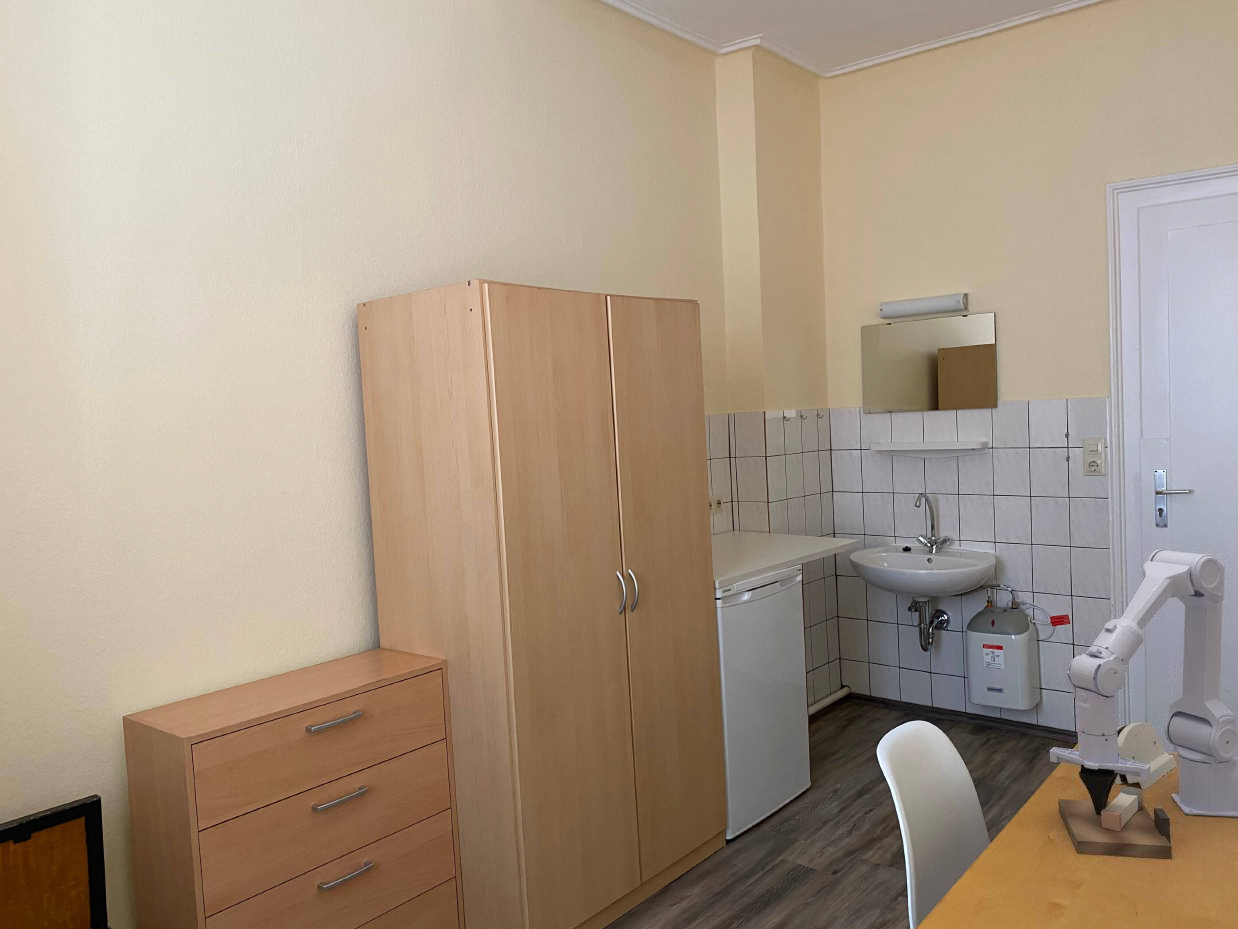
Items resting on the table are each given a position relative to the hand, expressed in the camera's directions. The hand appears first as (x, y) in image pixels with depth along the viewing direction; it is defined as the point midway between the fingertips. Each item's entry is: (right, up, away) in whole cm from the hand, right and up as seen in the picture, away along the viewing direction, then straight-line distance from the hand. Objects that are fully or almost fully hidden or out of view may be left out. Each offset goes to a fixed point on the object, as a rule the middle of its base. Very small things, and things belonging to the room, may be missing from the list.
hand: (1101, 813), depth 150 cm
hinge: (+20, -2, +25) cm, 32 cm away
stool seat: (+2, -3, 0) cm, 4 cm away
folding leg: (+4, -1, +2) cm, 5 cm away
